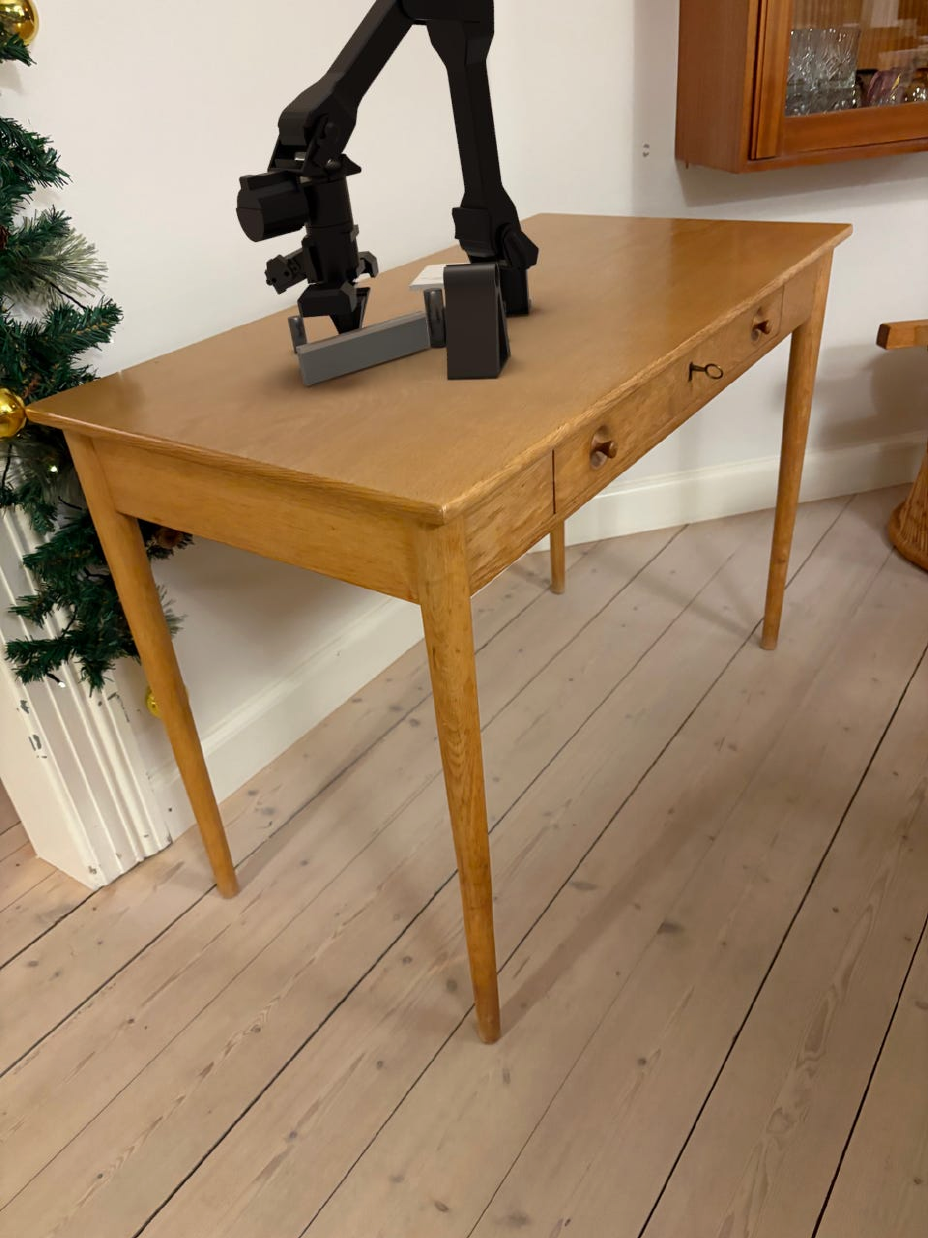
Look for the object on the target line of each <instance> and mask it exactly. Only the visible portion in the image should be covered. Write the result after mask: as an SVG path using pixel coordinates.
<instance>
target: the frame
mask: <svg viewBox="0 0 928 1238" xmlns="http://www.w3.org/2000/svg"><path fill="white" fill-rule="evenodd" d="M422 293H423V294H422V295H423V301H424V309H425V311H424V312H426V322H427V330H428V338H429V346H430V347H429V348H431V349H443V348H444V347H445V348H446V311H445V304H444V303H445V302H444V295H443V294H444V293H443V289H441V288H430V289H426V290H422ZM503 308H504V314H505V320H506V326H507V327H508V321H507V320H508V319H507V316H506V306H505V301H504V302H503ZM287 323H288V327H289V332H290V338H291V342H292V348H293V352H294V354H297V350H296V347H298V346H301V345H305V344H308V343H309V342H308V339H307V338H308V337H307V333H306V328H305V327H306V326H305V322H304V318H303V317H300V314H299V315H292V316H288V317H287ZM507 332H508V329H507ZM508 333H509V332H508Z"/></svg>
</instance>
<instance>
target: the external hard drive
mask: <svg viewBox="0 0 928 1238" xmlns="http://www.w3.org/2000/svg"><path fill="white" fill-rule="evenodd" d="M469 263H470V262H460V263H455V264H469ZM452 264H453V263H442V264H429V265H426V266H425V267H424V268H423V269H422V271H421V272H420V273H419V274H418V275H417V276H416V277H415V279H414V280H413V281H412V282H411V283H410V285H409V286H408V289H409V290H408V291H409V292H415V291H416V292H417V291H418V292H419V291H424V290H426V289H430V288H441V289H442V290H444V283H443V269H444V267H446V265H452Z"/></svg>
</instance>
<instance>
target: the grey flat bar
mask: <svg viewBox="0 0 928 1238" xmlns="http://www.w3.org/2000/svg"><path fill="white" fill-rule="evenodd" d="M429 348H431V347H430V343H429V335H428V327H427V319H426V311H423V310H419V311H415V312H412V313H408V314H404V315H401V316H397V317H394V318H391V319H388V320H384V321H381V322H378V323H374V324H371V325H367V326H364V327H363V326H362V328H360V329H356V330H353V331H349V332H346V333H342V334H339V333H338V334H336V335H333V336H329V337H325V338H322V339H319V340H315V341H312V342H308V344H305V345H301V346H298V347H296V350H297V353H296V354H297V359H298V363H299V368H300V375H301V379H302V384H303V385H304V386H308V387H309V386H312V385H314V384H317V383H321V382H324V381H327V380H330V379H334V378H336V377H340V376H343V375H345V374H349V373H351V372H355V371H359V370H362V369H365V368H368V367H371V366H374V365H377V364H381V363H384V362H387V361H390V360H393V359H397V358H399V357H403V356H406V355H410V354H413V353H416V352H419V351H423V350H425V349H429Z"/></svg>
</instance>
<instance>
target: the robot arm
mask: <svg viewBox="0 0 928 1238" xmlns="http://www.w3.org/2000/svg"><path fill="white" fill-rule="evenodd" d="M363 17H364V18H362V21H361V22H360V23H359V24H358V26H357V27H356V29H355V31H354V32H353V33H352V34H351V36H350V37H349V39H348V40H347V42H346V43H345V45H344V46H343V47H342V50H341V51H340V52H339V54H338V55H337V56H336V58H335V60H334V61H333V62H332V63H331V65H330V66H329V68H328V69H327V71H326V73H324V75H323V76H322V77H321V78H320V79H319V80H317V81H316V82H314V83H313V84H311V85H310V86H309V87H307V88H305V89H304V90H302V91H301V92H300V93H299V94H298V95H297V96H296V97H295V98H293V100H292V101H291V102H290V103H289V104H288V105H287V106H286V107H285V108H284V109H282V111H281V113H280V115H279V116H278V117H279V118H278V121H277V128H278V135H277V139H276V142H275V144H274V147H273V151H272V154H271V157H270V159H269V163H268V165H267V169H266V172H262V173H260V174H259V173H258V174H245V175H241V176H240V177H239V178H238V182H239V187H240V189H239V190H238V191H237V196H236V207H235V212H236V217H237V220H238V223H239V225H240V228H241V229H242V232H243V233H244V235H245V236H246V237H247V238H248V239H249V240H250V241H251V242H253V243H259V242H264V241H266V240H270V239H273V238H274V239H275V238H277V237H281V236H284V235H288V234H291V233H295V232H299V231H301V230H302V229H303V228H305V232H306V233H305V235H304V236H303V237H302V239H301V240H300V241H301V242H300V245H301V247H300V248H297V249H296V250H293V251H292V252H290V253H288V254H286V255H284V256H283V255H282V254H281V253H279V254H277V255H276V256H275V257H274V258H270V259H268V261H266V262H265V265H266V269H265V270H264V272H263V274H264V275H265V277H266V279H265V282H266V283H265V284H267V285H268V286H269V287H270V286H272V287H273V288H274V290H275V292H276V294H277V295H281V294H284V293H286V292H287V290H288V289H289V288H290V289H291V287H293V286H295V285H297V284H300V283H302V282H303V281H305V280H306V281H307V284H308V286H307V287H306V288H305V289H304V290H303V291H302V293H301V295H300V296H299V297H298V298H297V300H296V303H297V307H298V312H299V315H300V317H303V319H305V318H307V319H308V318H319V317H329V318H330V319H331V321H332V323H333V325H334V327H335V329H336V331H337V333H338V335H339V334H342V333H346V332H349V331H353V330H356V329H360V328H363V323H364V319H365V314H366V310H367V305H368V300H369V297H370V293H371V290H372V289H371V287H370V286H361V287H360V285H359V282H358V281H357V282H356V280H357V279H359V277H360V276H361V275H365V274H368V275H369V277H370V278H371V279H374V278H376V277H377V276H378V274H379V272H380V271H379V264H378V259H377V257H376V255H374V254H373V253H371V252H370V251H369V250H366V251H359V247H358V239H357V237H358V235H359V234H360V229H359V224H358V223H357V224H355V223H354V216H353V210H352V203H351V198H350V193H349V186H348V185H349V184H348V180H347V177H351V176H355V175H358V174H361V173H362V171H363V169H362V166H361V165H359V164H357V163H356V162H354V161H353V160H352V159H350V157H349V156H348V155H347V154H346V153H343V152H344V151H345V149H346V147H347V145H348V143H349V141H350V138H351V136H352V134H353V132H354V130H355V128H356V125H357V119H358V112H359V111H358V110H359V107H360V104H361V102H362V100H363V98H364V97H365V95H366V94H367V93H368V92H369V90H370V88H371V86H373V84H374V82H375V80H377V78H378V76H379V75H380V74H381V72H382V70H383V69H384V68H385V66H386V64H387V63H388V62H389V60H390V59H391V57H392V56H393V54H394V53H395V51H397V48H398V47H399V46H400V44H401V43H402V41H403V40H404V38H405V37H406V35H407V34H408V32H409V31H410V29H411V28H412V26H422V27H423V26H425V27H426V30H427V34H428V37H429V41H430V44H431V46H432V47H433V49H434V51H435V52H436V54H437V55H438V57H439V58H440V60H441V62H442V63H443V65H444V67H445V70H446V73H447V74H446V75H447V81H448V88H449V94H450V101H451V109H452V115H453V122H454V128H455V134H456V140H457V141H456V142H457V148H458V154H459V161H460V162H459V163H460V169H461V174H462V181H463V188H464V191H463V194H462V195H463V196H462V198H461V201H460V205H459V206H454V207H452V208H451V216H452V220H453V223H454V237H453V238H454V239H455V240H458V242H459V245H460V248H461V250H462V251H464V252H465V253H466V256H467V258H468V260H469V263H486V262H497V264H498V268H499V279H500V289H501V295H502V302H504V301H505V306H506V317H510V316H511V317H513V316H522V315H523V316H525V315H526V316H527V315H529V314H530V310H531V306H532V299H530V291H529V290H530V289H529V276H528V275H529V273H528V270H530V268H531V267H533V266H534V267H535V266H537V263H538V257H539V251H540V249H539V247H538V246H537V245H536V244H535V243H534V242H533V241H532V240H531V239H530V237H529V236H528V235H527V234H525V232H523V231H522V225H521V222H520V218H519V213H518V210H517V206H516V205H515V203H514V202H513V200H512V198H511V196H510V195H509V193H508V192H507V190H506V189H505V187H504V185H503V181H502V175H501V174H502V173H501V166H500V158H499V150H498V143H497V137H496V136H497V135H496V128H495V121H494V119H495V118H494V113H493V104H492V98H491V90H490V83H489V73H488V65H487V64H488V63H487V59H488V56H489V52H490V50H491V46H492V43H493V40H494V37H495V0H375V2H374V3H373V4H372V6H371V7H370V9H369V10H368V11H367V13H366V14H365V16H363ZM300 177H302V178H300ZM304 223H305V226H304ZM318 282H322V283H318ZM316 283H317V284H316Z"/></svg>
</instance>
